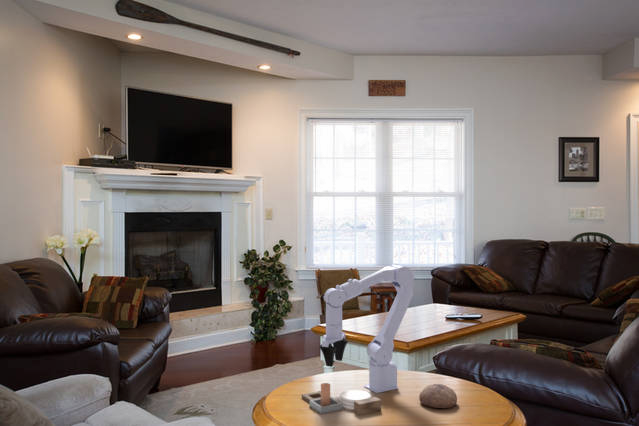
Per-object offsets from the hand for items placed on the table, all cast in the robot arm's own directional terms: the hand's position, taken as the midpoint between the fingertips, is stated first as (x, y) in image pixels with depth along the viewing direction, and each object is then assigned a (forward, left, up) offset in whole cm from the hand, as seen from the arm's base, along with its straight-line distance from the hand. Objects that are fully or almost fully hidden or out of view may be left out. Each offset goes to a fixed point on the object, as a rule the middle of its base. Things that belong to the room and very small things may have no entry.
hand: (334, 363), depth 185 cm
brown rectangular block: (0, +21, -10) cm, 23 cm away
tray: (+10, +12, -10) cm, 19 cm away
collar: (+9, +4, -10) cm, 14 cm away
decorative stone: (-24, +30, -12) cm, 40 cm away
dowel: (+10, +12, -9) cm, 18 cm away
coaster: (0, +14, -10) cm, 17 cm away
